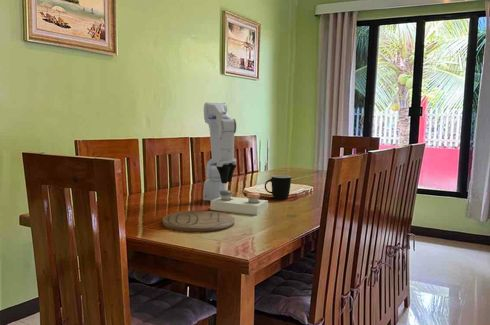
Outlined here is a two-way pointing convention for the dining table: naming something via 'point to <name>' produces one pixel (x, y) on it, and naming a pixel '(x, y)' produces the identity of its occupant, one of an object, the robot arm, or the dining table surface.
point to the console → (239, 206)
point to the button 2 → (253, 197)
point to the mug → (280, 186)
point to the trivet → (198, 221)
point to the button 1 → (226, 195)
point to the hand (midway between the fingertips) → (226, 182)
